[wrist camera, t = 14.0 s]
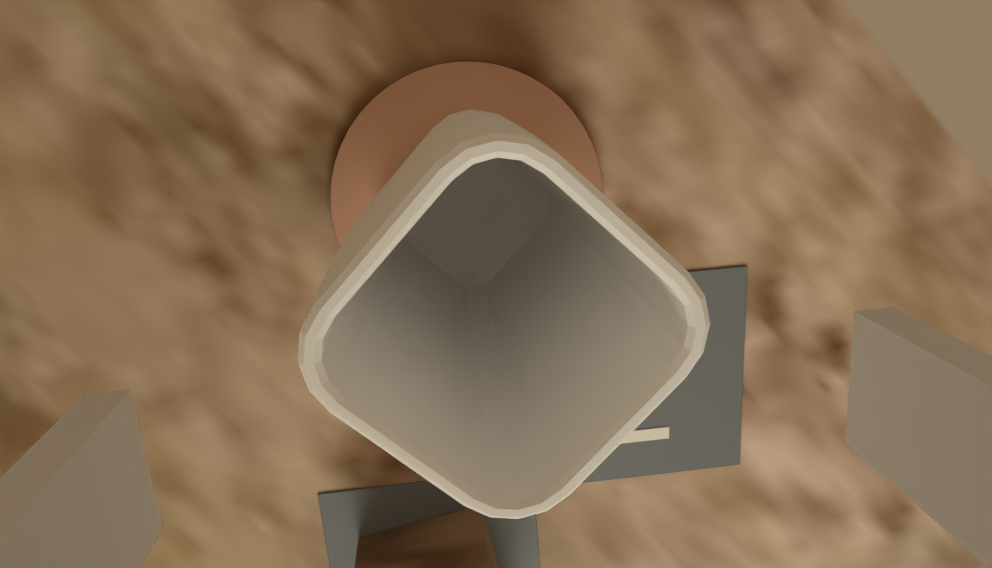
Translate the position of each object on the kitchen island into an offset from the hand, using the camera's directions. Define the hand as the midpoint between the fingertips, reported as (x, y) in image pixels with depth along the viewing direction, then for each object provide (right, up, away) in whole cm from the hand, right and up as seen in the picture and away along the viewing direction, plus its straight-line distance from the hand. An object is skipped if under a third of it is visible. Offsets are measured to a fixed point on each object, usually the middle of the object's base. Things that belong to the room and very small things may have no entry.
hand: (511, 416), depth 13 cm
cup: (-1, +6, +16) cm, 17 cm away
